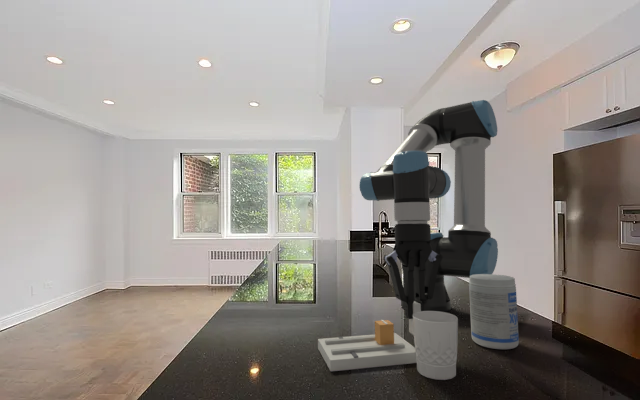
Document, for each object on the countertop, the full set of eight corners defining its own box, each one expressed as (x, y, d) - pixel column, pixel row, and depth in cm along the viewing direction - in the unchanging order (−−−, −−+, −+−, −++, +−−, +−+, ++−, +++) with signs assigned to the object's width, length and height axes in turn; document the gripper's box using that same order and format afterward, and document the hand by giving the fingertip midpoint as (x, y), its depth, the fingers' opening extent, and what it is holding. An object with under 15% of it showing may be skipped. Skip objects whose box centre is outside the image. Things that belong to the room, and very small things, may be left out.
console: (395, 341, 80) (395, 330, 80) (420, 362, 68) (420, 348, 68) (318, 348, 76) (317, 336, 76) (330, 371, 64) (330, 356, 65)
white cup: (408, 364, 67) (406, 311, 68) (447, 362, 68) (445, 310, 69) (423, 383, 59) (421, 323, 60) (468, 380, 60) (466, 321, 61)
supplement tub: (523, 353, 72) (520, 281, 73) (473, 348, 75) (471, 279, 76) (513, 338, 81) (510, 274, 82) (469, 334, 84) (466, 272, 85)
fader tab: (388, 339, 75) (387, 319, 75) (394, 343, 72) (393, 323, 72) (375, 340, 74) (374, 320, 74) (380, 345, 71) (379, 324, 72)
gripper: (430, 222, 81) (434, 326, 79) (377, 223, 78) (379, 330, 77) (449, 222, 74) (452, 337, 72) (390, 223, 71) (393, 342, 69)
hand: (415, 333), depth 74 cm, fingers closed
